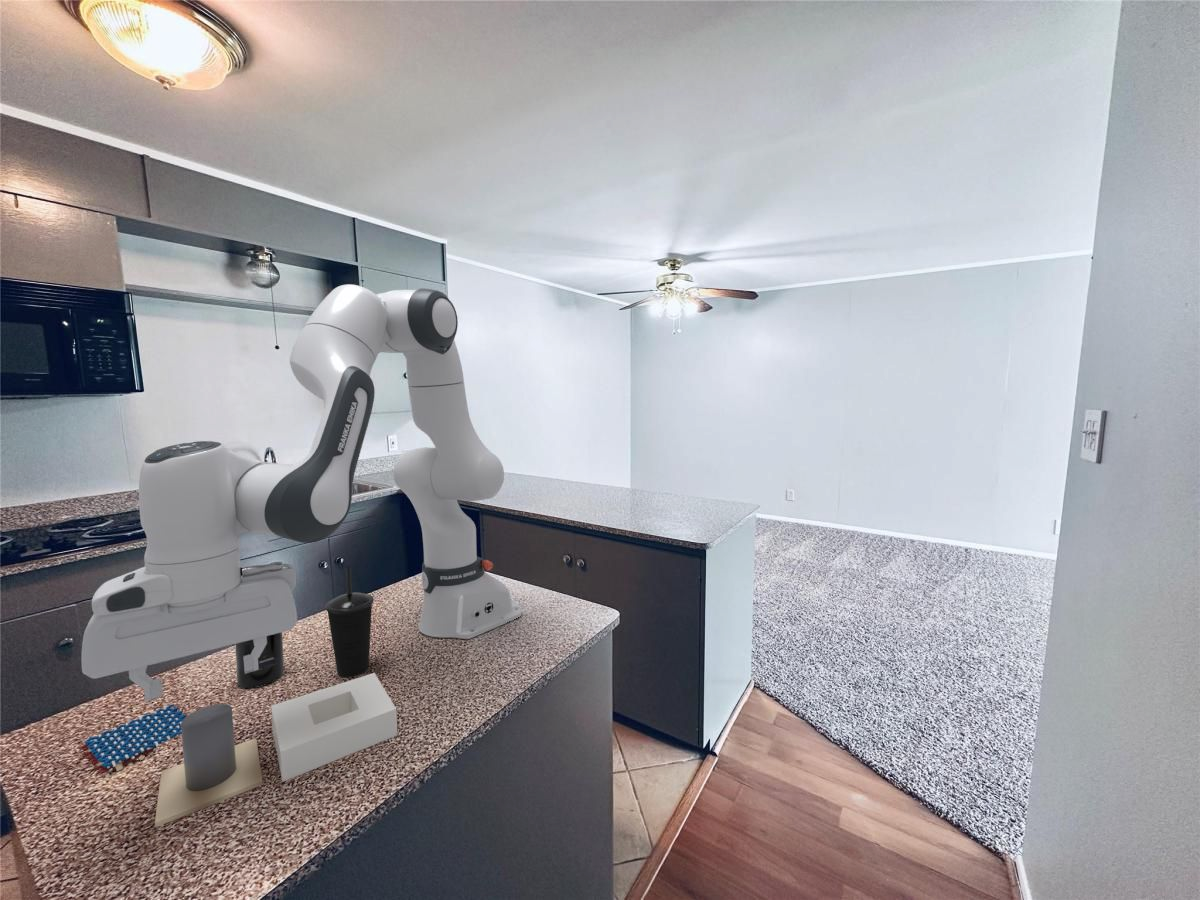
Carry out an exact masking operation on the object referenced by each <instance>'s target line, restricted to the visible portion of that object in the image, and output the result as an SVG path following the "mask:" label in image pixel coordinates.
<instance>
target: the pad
mask: <svg viewBox="0 0 1200 900" xmlns="http://www.w3.org/2000/svg"><path fill="white" fill-rule="evenodd" d="M235 757H236V770H235V772H234V773H233V774H232V776H230V777H229V778H228V779H227V780H226V781H224V782H222V783H221V784H219V785H217V786H215V787H212V788H209V789H206V790H202V791H191V790H188V789H187V788H186V779H185V767H184V762H182V763H181V764H177V765H175V766H172V767H169V768H165V769H163V770H161V771H160V773H161V774H160V779H159V789H158V795H157V804H156V811H155V819H154V826H155V827H154V828H157V827H160V826H162V825H164V824H165V825H166V824H169V823H170V822H172V821H174V820H177V819H180V818H182V817H185V816H189V815H190V814H192V813H195V812H198V811H200V810H203V809H205V808H208V807H210V806H212V805H215V804H217V803H220V802H223V801H225V800H227V799H231V798H233V797H235V796H238V795H240V794H242V793H246V792H248V791H250V790H253V789H255V788H258V787H260V786H263V775H262V769H261V763H260V754H259V748H258V741H257V737H256V738H255V737H254V738H252V739H249V740H246V741H243V742H241V743H238V744H235Z"/></svg>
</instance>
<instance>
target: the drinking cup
mask: <svg viewBox="0 0 1200 900" xmlns="http://www.w3.org/2000/svg"><path fill="white" fill-rule="evenodd" d="M351 570H352V569H351V566H350V565H347V566H346V567H345V571H346V574H345V575H346V593H344V594H340V595H339V596H337V597H335V598H332V599H331V600H329V601H327V602H326V604H325V606H324V608H325V611H326V612H327V616H328V623H329V629H330V637H331V641H332V642H331V643H332V647H333V653H334V660H335V667H336V672H337V675H338V677H340V678H354V677H357V676H359V675H362V674H363V673H365V672H367V671H368V669H369V664H370V662H369V661H370V645H371V627H372V607H373V603H374V600H375V599H374V596H373V595H371V594H369V593H363V592H352V576H351V575H352V572H351Z"/></svg>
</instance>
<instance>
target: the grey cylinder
mask: <svg viewBox="0 0 1200 900" xmlns="http://www.w3.org/2000/svg"><path fill="white" fill-rule="evenodd" d="M233 718H234V717H233V708H232V705H229V704H226V703H225V704H224V703H216V704H211V705H207V706H204V707H202V708H199V709H197V710H195V711H193V712H191V713H190V714H188V715H187V716H186V717H184V718H183V721H182V722H181V732H182V734H181V742H182V744H181V745H182V753H183V763H184V767H185V779H186V788H187V789H188V790H191V791H202V790H206V789H209V788H212V787H215V786H217V785H219V784H221V783H222V782H224V781H226V780H227V779H228V778H229V777H230V776H232V774H233V773H234V772H235V770H236V757H235V745H236V744H235V731H234V719H233Z"/></svg>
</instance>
